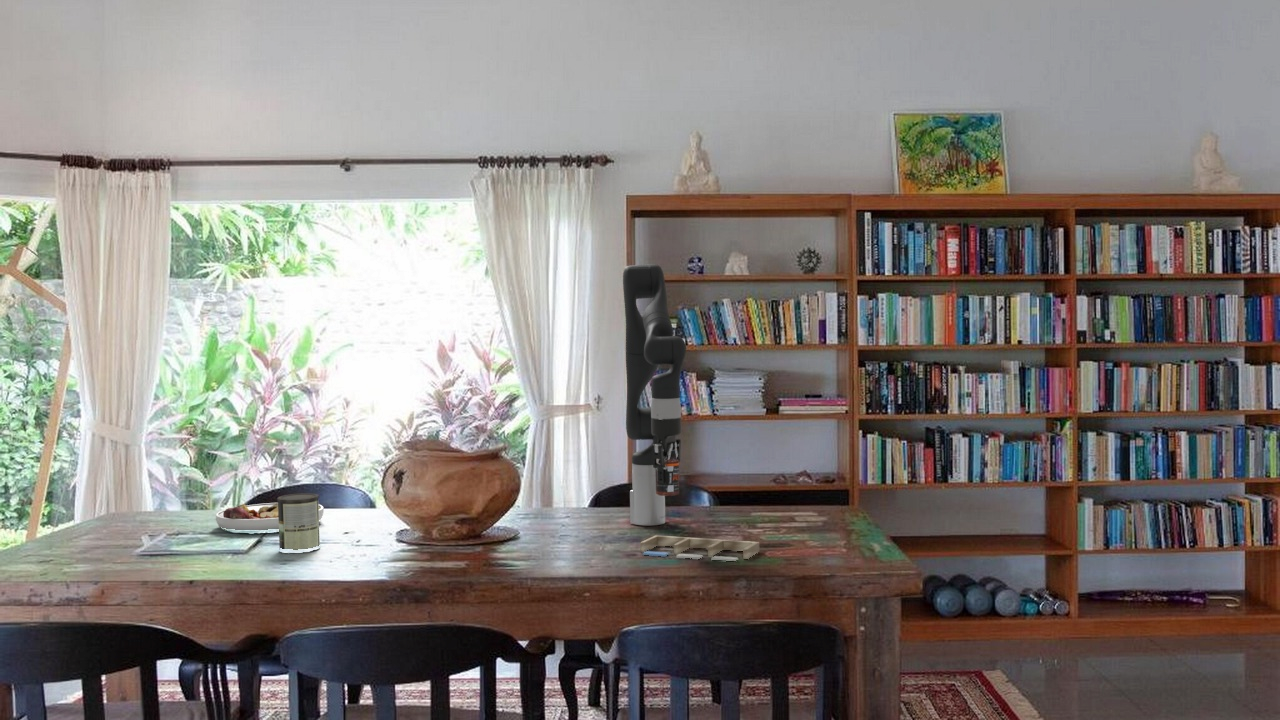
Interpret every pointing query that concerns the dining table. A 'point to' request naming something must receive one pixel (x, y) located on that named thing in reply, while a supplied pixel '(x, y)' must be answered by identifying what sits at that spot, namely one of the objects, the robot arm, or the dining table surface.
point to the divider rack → (701, 545)
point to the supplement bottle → (669, 478)
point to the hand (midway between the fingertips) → (667, 482)
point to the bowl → (252, 517)
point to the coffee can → (298, 521)
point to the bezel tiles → (689, 556)
